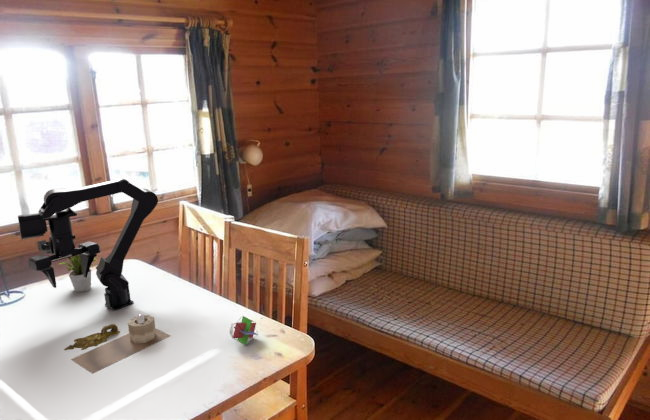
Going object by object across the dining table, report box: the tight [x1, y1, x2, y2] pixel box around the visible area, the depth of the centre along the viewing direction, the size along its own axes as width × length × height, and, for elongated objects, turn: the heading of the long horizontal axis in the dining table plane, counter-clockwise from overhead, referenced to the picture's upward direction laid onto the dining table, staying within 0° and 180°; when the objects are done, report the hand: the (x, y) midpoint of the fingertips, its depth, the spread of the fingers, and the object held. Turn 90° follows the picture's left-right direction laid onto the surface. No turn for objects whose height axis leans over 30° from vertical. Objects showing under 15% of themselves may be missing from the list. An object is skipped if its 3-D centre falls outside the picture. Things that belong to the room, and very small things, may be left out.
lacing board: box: [70, 327, 172, 374], centre depth 130 cm, size 22×11×1 cm, turn 142°
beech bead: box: [127, 314, 157, 344], centre depth 134 cm, size 6×6×5 cm
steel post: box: [136, 313, 145, 324], centre depth 134 cm, size 2×2×7 cm
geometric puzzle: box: [229, 315, 259, 347], centre depth 132 cm, size 7×7×8 cm
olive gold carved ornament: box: [63, 323, 121, 351], centre depth 134 cm, size 9×5×15 cm
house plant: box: [58, 255, 99, 293], centre depth 169 cm, size 14×14×16 cm
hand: (70, 282), depth 149 cm, fingers open, 9 cm apart
